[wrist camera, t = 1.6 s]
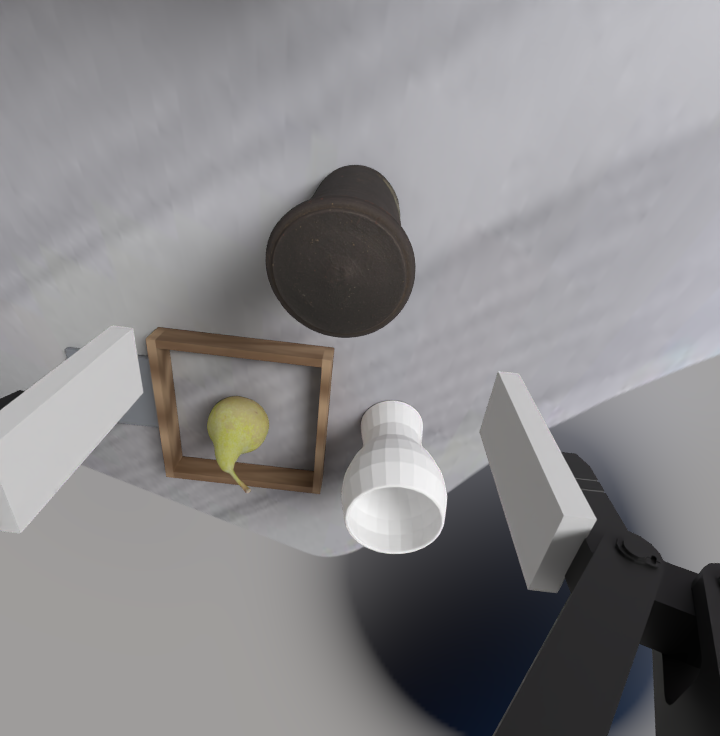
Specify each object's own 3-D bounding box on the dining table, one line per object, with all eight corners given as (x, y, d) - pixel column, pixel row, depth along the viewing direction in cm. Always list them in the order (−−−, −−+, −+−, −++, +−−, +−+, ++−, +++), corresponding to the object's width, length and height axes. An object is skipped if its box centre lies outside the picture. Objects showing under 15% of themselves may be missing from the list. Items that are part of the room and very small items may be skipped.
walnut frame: (158, 327, 50) (145, 338, 47) (334, 347, 50) (331, 360, 47) (175, 461, 60) (166, 476, 57) (322, 477, 60) (320, 494, 57)
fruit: (231, 375, 53) (194, 439, 42) (287, 404, 54) (264, 473, 44) (210, 413, 56) (170, 482, 45) (263, 440, 57) (237, 512, 47)
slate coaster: (68, 347, 52) (64, 349, 51) (153, 357, 52) (151, 359, 51) (85, 416, 57) (82, 418, 56) (163, 424, 57) (161, 427, 56)
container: (361, 274, 46) (348, 371, 28) (292, 213, 43) (231, 279, 26) (421, 209, 42) (448, 275, 25) (351, 139, 40) (327, 157, 22)
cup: (358, 462, 58) (350, 562, 45) (341, 396, 53) (327, 487, 40) (438, 453, 57) (455, 553, 44) (429, 384, 52) (444, 474, 39)
